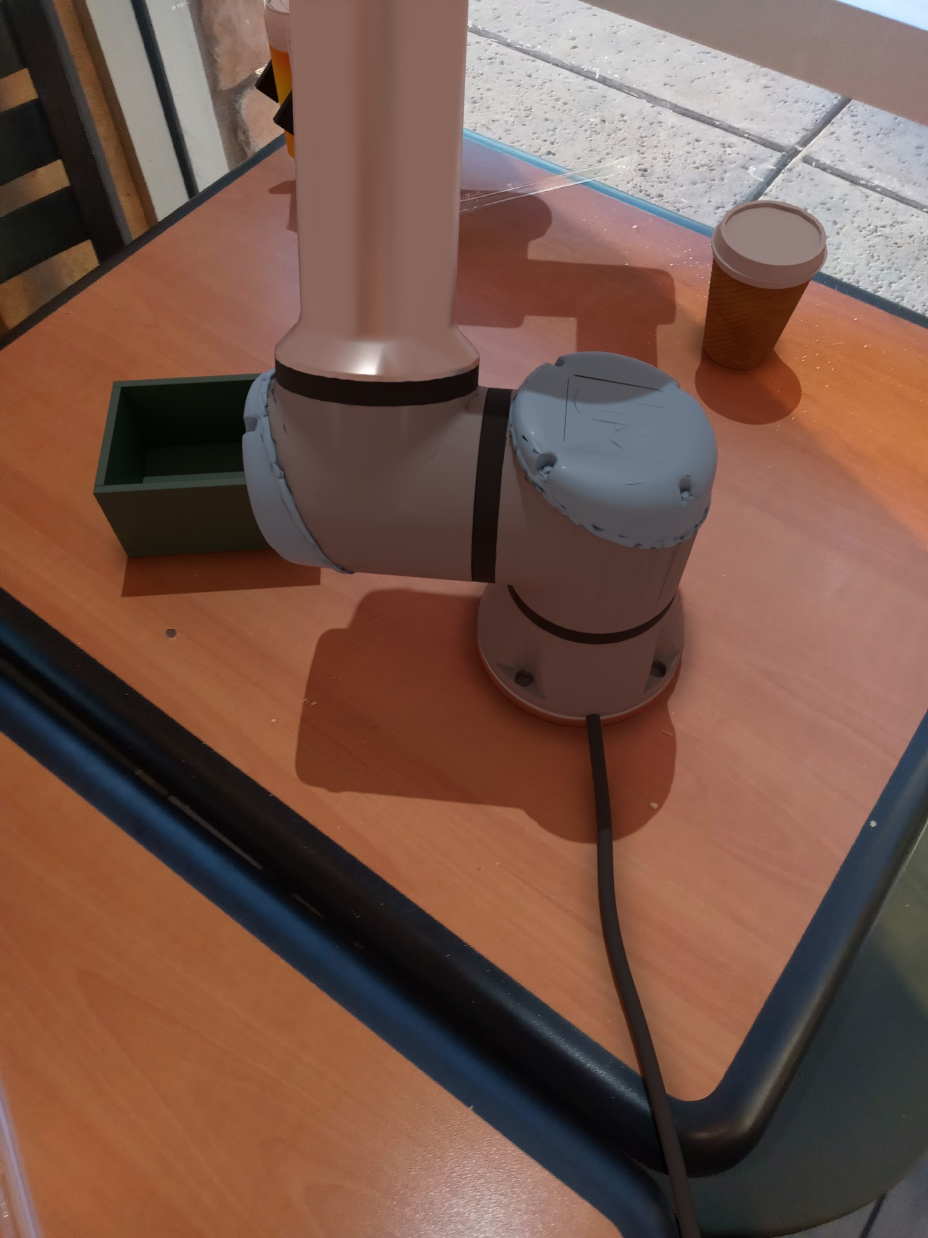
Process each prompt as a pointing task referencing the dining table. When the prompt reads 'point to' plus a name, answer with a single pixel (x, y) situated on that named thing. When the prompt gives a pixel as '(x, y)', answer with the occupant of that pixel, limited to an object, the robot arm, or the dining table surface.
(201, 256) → the dining table surface
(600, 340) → the dining table surface
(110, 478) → the open rectangular storage bin
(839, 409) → the dining table surface
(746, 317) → the disposable coffee cup
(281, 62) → the beer can
